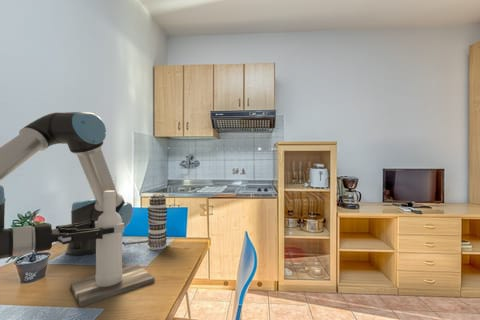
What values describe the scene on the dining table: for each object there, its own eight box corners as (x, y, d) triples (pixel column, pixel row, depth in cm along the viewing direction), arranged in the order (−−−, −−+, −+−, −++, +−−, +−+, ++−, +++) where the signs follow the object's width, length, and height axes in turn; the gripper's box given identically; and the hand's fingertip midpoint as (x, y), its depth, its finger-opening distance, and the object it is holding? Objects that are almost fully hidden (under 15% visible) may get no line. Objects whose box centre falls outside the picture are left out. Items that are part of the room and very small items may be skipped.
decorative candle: (145, 250, 117) (146, 196, 117) (148, 244, 126) (148, 193, 126) (166, 249, 119) (167, 195, 119) (167, 242, 128) (167, 193, 128)
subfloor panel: (70, 286, 84) (70, 282, 84) (137, 267, 99) (137, 263, 99) (80, 306, 73) (80, 301, 73) (154, 281, 88) (154, 277, 88)
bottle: (110, 288, 80) (110, 193, 80) (89, 285, 82) (90, 192, 82) (127, 277, 87) (128, 190, 87) (108, 274, 89) (108, 189, 89)
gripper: (30, 243, 79) (110, 229, 94) (36, 263, 64) (130, 243, 79) (31, 218, 79) (110, 209, 94) (36, 233, 64) (130, 219, 79)
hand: (119, 224), depth 87 cm, fingers closed on bottle, 8 cm apart
